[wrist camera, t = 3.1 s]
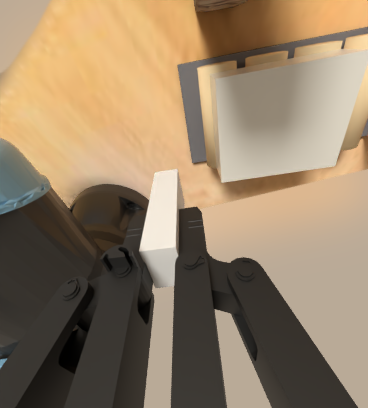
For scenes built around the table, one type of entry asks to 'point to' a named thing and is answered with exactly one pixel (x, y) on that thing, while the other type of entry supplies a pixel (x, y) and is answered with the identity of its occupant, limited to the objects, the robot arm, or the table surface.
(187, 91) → the roller bed
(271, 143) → the slab
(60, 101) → the table surface
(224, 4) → the stone block
